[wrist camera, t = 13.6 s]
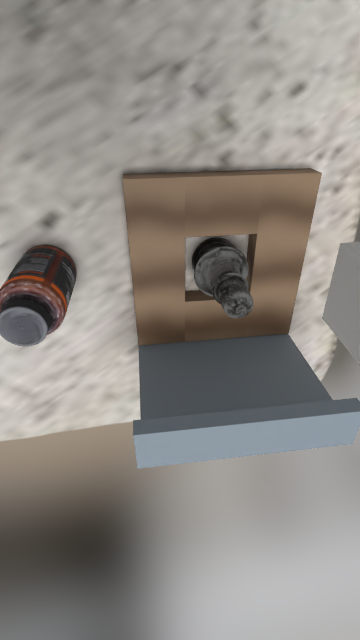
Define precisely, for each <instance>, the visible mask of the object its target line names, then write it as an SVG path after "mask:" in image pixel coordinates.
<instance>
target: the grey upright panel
mask: <svg viewBox="0 0 360 640" xmlns="http://www.w3.org/2000/svg"><path fill="white" fill-rule="evenodd" d="M139 374H140V409H141V420H134V421H133V437H134V444H135V451H136V459H137V467H138V468H146V467H155V466H164V465H172V464H181V463H190V462H198V461H207V460H215V459H225V458H232V457H233V458H234V457H242V456H251V455H260V454H268V453H277V452H286V451H294V450H302V449H312V448H320V447H329V446H338V445H347V444H352V443H353V441H354V439H355V436H356V434H357V432H358V430H359V427H360V401H359V400H358V399H357V398H352V399H342V400H332V399H331V397H330V395H329V394H328V392H327V391H326V389H325V388H324V386H323V385H322V383H321V382H320V380H319V379H318V378H317V376H316V375H315V373H314V372H313V370H312V369H311V367H310V366H309V364H308V363H307V361H306V360H305V358H304V357H303V355H302V354H301V352H300V351H299V349H298V348H297V346H296V345H295V343H294V342H293V340H292V339H291V337H290V336H289V335H288V334H278V335H265V336H253V337H240V338H228V339H215V340H203V341H190V342H178V343H165V344H153V345H140V346H139Z"/></svg>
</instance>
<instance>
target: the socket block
mask: <svg viewBox="0 0 360 640" xmlns="http://www.w3.org/2000/svg"><path fill="white" fill-rule="evenodd" d="M321 174H322V173H321V172H318V171H315V170H313V169H280V170H248V171H215V172H183V173H151V174H123V188H124V199H125V209H126V219H127V230H128V240H129V251H130V261H131V271H132V282H133V292H134V302H135V313H136V323H137V334H138V344H139V346H140V345H153V344H165V343H178V342H190V341H203V340H215V339H228V338H240V337H253V336H265V335H278V334H288V333H289V329H290V324H291V319H292V314H293V309H294V305H295V300H296V295H297V290H298V285H299V280H300V276H301V271H302V266H303V261H304V256H305V252H306V247H307V242H308V237H309V232H310V227H311V223H312V218H313V213H314V208H315V203H316V199H317V194H318V189H319V184H320V179H321ZM240 234H249V243H248V252H247V262H248V267H249V268H248V275H247V278H246V280H247V282H248V286H249V287H248V291H249V293H250V294H251V296H252V298H253V308H252V310H251V312H250V313H249V314H248V315H247V316H245V317H242V318H232V317H229V316H228V315H227V314H226V313H225V312H224V310H223V308H222V306H221V304H219V303H218V302H217V301H216V300H215V299H214V297H213V296H209V295H207V294H205V293H203V292H202V291H201V290H199V291H185V237H200V236H220V235H240Z"/></svg>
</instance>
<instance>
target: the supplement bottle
mask: <svg viewBox="0 0 360 640" xmlns="http://www.w3.org/2000/svg"><path fill="white" fill-rule="evenodd" d="M75 281H76V268H75V265H74V263H73V261H72V260H71V258H70V257H69V256H68V255H67V254H66V253H64V252H63V251H61V250H60V249H57V248H55V247H51V246H37V247H34V248H31V249H30V250H28V251H27V252H26V253H25V254H24V255H23V256H22V257H21V259H20V260H19V262H18V263H17V265H16V266H15V268H14V269H13V271H12V272H11V274H10V275H9V277H8V278H7V280H6V281H5V283H4V284H3V286H2V287H1V289H0V335H1V336H2V337H3V338H4V339H6V340H7V341H8V342H10V343H12V344H15V345H19V346H32V345H36V344H38V343H40V342H41V341H43V340H44V338H45V337H46V335H48V334H50V333H52V332H54V331H55V330H56V329H57V328H58V327H59V326H60V325H61V324H62V322H63V320H64V317H65V314H66V312H67V308H68V305H69V301H70V298H71V294H72V291H73V288H74V284H75Z"/></svg>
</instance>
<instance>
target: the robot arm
mask: <svg viewBox="0 0 360 640" xmlns="http://www.w3.org/2000/svg"><path fill="white" fill-rule="evenodd" d="M322 318H323V320H324V321H325V322H326V323H327V325H328V326H329V327H330V328H331V330H332V331H333V332H334V333H335V335H336V336H337V337H338V338H339V339H340V341H341V342H342V343H343V344H344V346H345V347H346V348H347V349H348V351H349V352H350V353H351V354H352V355H353V357H354V358H355V359H356V360H357V362H358V363H359V364H360V242H351V243H341V244H340V247H339V251H338V255H337V259H336V264H335V268H334V272H333V276H332V280H331V284H330V288H329V292H328V296H327V301H326V305H325V309H324V313H323V317H322Z"/></svg>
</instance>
